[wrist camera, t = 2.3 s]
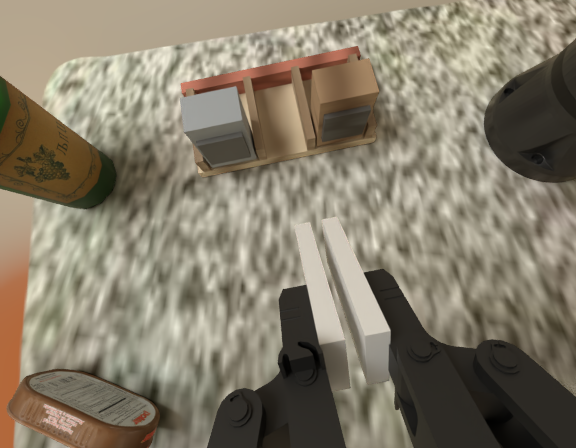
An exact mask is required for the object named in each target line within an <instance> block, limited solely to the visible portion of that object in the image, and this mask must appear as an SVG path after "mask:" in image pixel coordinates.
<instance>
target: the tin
mask: <svg viewBox="0 0 576 448" xmlns="http://www.w3.org/2000/svg"><path fill="white" fill-rule="evenodd" d="M7 412H8V415H9V416H10V417H11V418H12V419H13V420H15V421H16V422H18V423H20V424H22V425H24V426H26V427H28V428H31V429H33V430H35V431H37V432H39V433H41V434H43V435H45V436H47V437H49V438H52V439H54V440H56V441H57V442H60V443H62V444H64V445H66V446H68V447H70V448H149V446H150V445H151V443H152V440H153V435H154V433H155V430H156V428H157V425H158V422H159V419H160V414H159V410H158V408H157V407H156V406H155V405H154V404H153V403H152V402H151V401H150V400H148V399H146V398H144V397H142V396H140V395H138V394H135V393H133V392H131V391H129V390H126V389H124V388H122V387H120V386H117V385H115V384H113V383H110V382H108V381H106V380H103V379H101V378H99V377H96V376H94V375H91V374H88V373H85V372H81V371H76V370H69V369H53V370H49V371H44V372H39V373H35V374H32V375H29V376H26V377H25V378H24V379H23V380H22V382H21V383H20V385H19V387H18V389H17V390H16V393H15V394H14V396H13V398H12V399H11V400H10V402H9V403H8V405H7Z"/></svg>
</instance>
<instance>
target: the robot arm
mask: <svg viewBox="0 0 576 448" xmlns="http://www.w3.org/2000/svg"><path fill="white" fill-rule="evenodd" d="M484 129H485V134H486V137H487V140H488V142H489V145H490V146H491V148H492V150H493V151H494V153H495V154H496V155H497V157H498V158H499V159H500V160H501V161H502V162H503V163H504V164H505V165H507V166H508V167H509V168H511V169H512V170H514V171H515V172H517V173H519V174H521V175H523V176H525V177H528V178H531V179H534V180H538V181H544V182H563V181H568V180H572V179H575V178H576V39H575V40H574V41H573V42H572V43H571V44H569V45H568V46H567V47H566V48H565V49H564V50H563V51H562V52H560V53H559V54H557V55H555V56H553V57H552V58H550V59H548V60H546V61H544V62H542V63H540V64H538V65H536V66H534V67H532V68H530V69H528V70H527V71H525V72H523V73H521V74H519V75H517V76H516V77H514V78H513V79H511V80H510V81H509V82H508V83H506V84H505V85H504V86H503V87H502V88H501V89H500V90H499V91H498V92H497V93H496V94H495V96H494V97H493V98H492V99H491V101H490V102H489V104H488V106H487V109H486V112H485V117H484ZM294 226H295V231H296V236H297V241H298V246H299V251H300V256H301V261H302V266H303V271H304V276H305V281H306V285H303V286H298V287H293V288H288V289H283V290H282V293H281V296H280V298H279V308H280V320H281V331H282V342H283V348H282V349H281V351H280V353H279V357H278V365H279V368H280V372H279V374H278V375H277V376H276V377H275V378H274V379H273V380H272V381H271V382H269V383H268V384H266V385H264V386H262V387H261V388H259V389H257V390H255V391H253V390H250V389H246V388H243V389H238V390H235V391H234V392H232V393H230V394H229V395H228V396H227V397H226V398H225V399H224V400H223V401H222V403H221V405H220V407H219V409H218V411H217V415H216V418H215V422H214V425H213V429H212V432H211V436H210V439H209V443H208V446H207V448H346V446H345V442H344V438H343V434H342V430H341V426H340V422H339V418H338V414H337V410H336V406H335V402H334V398H333V394H332V392H333V391H339V390H344V389H349V388H350V379H349V370H348V361H347V353H346V344H345V338H344V335H343V331H342V328H341V325H340V321H339V318H338V315H337V311H336V308H335V305H334V301H333V298H332V295H331V291H330V288H329V285H328V281H327V278H326V275H325V271H324V268H323V265H322V262H321V258H320V255H319V252H318V248H317V245H316V242H315V238H314V235H313V232H312V228H311V225H310V222H307V223H303V224H298V225H294ZM322 226H323V234H324V241H325V249H326V256H327V263H328V266H329V269H330V272H331V275H332V278H333V281H334V284H335V287H336V290H337V293H338V296H339V299H340V302H341V306H342V309H343V312H344V315H345V318H346V321H347V324H348V327H349V330H350V333H351V336H352V339H353V342H354V345H355V348H356V351H357V354H358V358H359V361H360V364H361V367H362V370H363V373H364V376H365V379H366V382H367V385H370V384H375V383H380V382H385V381H389V373H390V376H391V378H392V380H393V383H394V385H395V399H394V404H395V410H399V408H400V411H401V414H402V416H403V419H404V422H405V425H406V427H407V430H408V433H409V436H410V439H411V441H412V444H413V447H414V448H576V397H575V396H574V395H573V394H572V393H571V392H569V391H568V390H567V389H566V388H565V387H564V386H562V385H561V384H560V383H559V382H558V381H557V380H556V379H554V378H553V377H552V376H551V375H550V374H549V373H547V372H546V371H545V370H544V369H543V368H542V367H541V366H539V365H538V364H537V363H536V362H535V361H534V360H532V359H531V358H530V357H529V356H528V355H527V354H526V353H524V352H523V351H522V350H520V349H519V348H517V347H516V346H514V345H512V344H510V343H507V342H505V341H501V340H493V339H492V340H487V341H483V342H482V343H481V344H479V345H478V347H477V349H473V348H464V347H455V346H450V345H446V344H443V343H441V342H439V341H437V340H436V339H434V338H433V337H431V336H430V335H429V334H428V333H427V332H426V331H425V329H424V328H423V327H422V325H421V323H420V321H419V320H418V318H417V316H416V315H415V313H414V311H413V310H412V308H411V306H410V305H409V303H408V301H407V299H406V298H405V297H404V294H403V293H402V291H401V289H399V286H398V284H397V282H396V281H395V279H394V277H393V276H392V275H390V274H389V273H388V272H386V271H385V270H384V269H380V270H374V271H369V272H364V273H363V271H362V269H361V267H360V265H359V262H358V260H357V258H356V256H355V254H354V252H353V250H352V248H351V245H350V243H349V241H348V239H347V237H346V235H345V233H344V231H343V228H342V226H341V224H340V222H339V220H338V218H337V217H332V218H327V219H322Z"/></svg>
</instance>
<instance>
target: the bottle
mask: <svg viewBox="0 0 576 448" xmlns="http://www.w3.org/2000/svg"><path fill="white" fill-rule="evenodd" d="M115 179H116V171H115V168H114V165H113V161H112V160H110V159H109V158H108V157H107V156H105V155H104V154H103V153H102V152H100V151H99V150H98V149H96V148H95V147H94V146H92V145H91V144H90V143H88V142H87V141H86V140H84V139H83V138H82V137H80V136H79V135H78V134H76V133H75V132H74V131H72V130H71V129H70V128H68V127H67V126H66V125H64V124H63V123H62V122H60V121H59V120H58V119H57V118H55V117H54V116H53V115H51V114H50V113H49V112H47V111H46V110H45V109H43V108H42V107H41V106H39V105H38V104H37V103H35V102H34V101H33V100H31V99H30V98H29V97H27V96H26V95H25V94H23V93H22V92H21V91H19V90H18V89H17V88H15V87H14V86H13V85H12V84H10V83H9V82H8V81H6V80H5V79H4V78H2V77H1V76H0V189H3V190H8V191H11V192H15V193H19V194H23V195H26V196H30V197H34V198H38V199H42V200H45V201H49V202H53V203H57V204H61V205H64V206H68V207H73V208H82V209H87V208H89V207H92V206H94V205H97V204H99V203H101V202H102V201H103V200H104V199H105V198H106V197H107V196H108V195H109V193H110V192H111V191H112V190H113V186H114V183H115Z"/></svg>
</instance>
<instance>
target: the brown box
mask: <svg viewBox="0 0 576 448" xmlns="http://www.w3.org/2000/svg"><path fill="white" fill-rule="evenodd" d="M378 94H379V89H378V86H377V82H376V79H375V76H374V73H373V69H372V66H371V63H370V59H369V58H368V59H363V60H359V61H354V62H349V63H344V64H340V65H335V66H330V67H325V68H321V69H316V70H312V85H311V116H310V117H311V121H312V125H313V129H314V134H315V141H316V146H322V145H326V144H331V143H336V142H341V141H346V140H351V139H356V138H360V137H362V135H363V133H364V130H365V128H366V125H367V122H368V120H369V117H370V114H371V112H372V109H373V107H374V104H375V101H376V99H377V96H378Z"/></svg>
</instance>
